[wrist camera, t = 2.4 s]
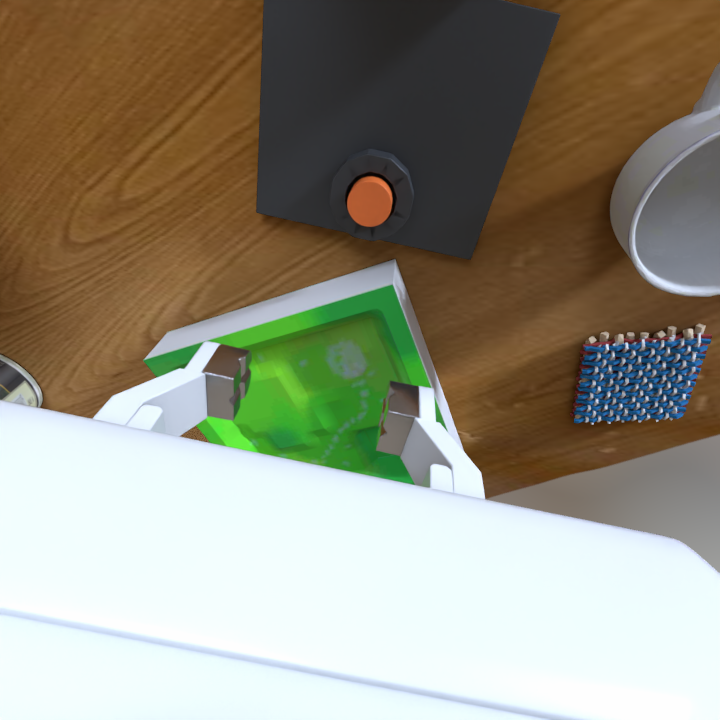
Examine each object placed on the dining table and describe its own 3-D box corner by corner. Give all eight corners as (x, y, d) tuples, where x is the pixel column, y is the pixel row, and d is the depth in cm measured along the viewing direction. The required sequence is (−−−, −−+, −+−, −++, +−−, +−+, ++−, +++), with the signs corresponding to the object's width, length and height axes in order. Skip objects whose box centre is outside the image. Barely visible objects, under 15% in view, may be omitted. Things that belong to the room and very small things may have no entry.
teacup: (717, 253, 34) (788, 301, 27) (574, 253, 35) (610, 299, 29) (822, 32, 26) (958, 27, 19) (631, 42, 27) (699, 40, 20)
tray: (167, 332, 44) (143, 360, 40) (395, 258, 37) (393, 284, 33) (278, 481, 57) (268, 513, 53) (463, 449, 50) (467, 484, 46)
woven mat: (678, 409, 43) (688, 423, 42) (567, 414, 45) (572, 428, 44) (709, 321, 37) (722, 334, 36) (579, 332, 39) (586, 344, 38)
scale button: (353, 171, 30) (351, 176, 29) (397, 181, 31) (396, 186, 29) (346, 215, 32) (343, 221, 31) (387, 224, 32) (386, 231, 31)
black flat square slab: (271, -53, 26) (256, -63, 23) (555, 15, 26) (569, 12, 24) (260, 208, 35) (249, 220, 33) (469, 254, 36) (473, 269, 34)
